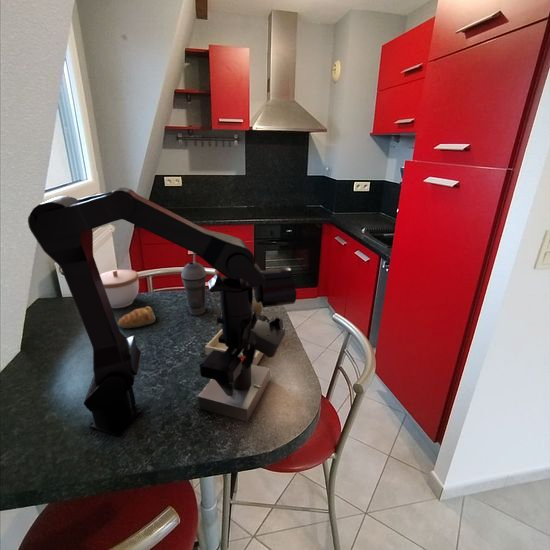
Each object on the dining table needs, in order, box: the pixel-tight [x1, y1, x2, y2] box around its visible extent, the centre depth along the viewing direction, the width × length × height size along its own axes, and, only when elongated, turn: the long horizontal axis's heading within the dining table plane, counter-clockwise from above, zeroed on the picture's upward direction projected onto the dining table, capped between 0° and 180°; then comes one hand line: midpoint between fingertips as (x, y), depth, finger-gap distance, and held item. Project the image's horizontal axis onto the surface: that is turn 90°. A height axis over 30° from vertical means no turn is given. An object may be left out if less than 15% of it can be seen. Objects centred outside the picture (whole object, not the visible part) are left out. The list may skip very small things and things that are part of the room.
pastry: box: [117, 305, 156, 329], centre depth 90 cm, size 9×7×4 cm
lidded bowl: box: [99, 269, 140, 309], centre depth 100 cm, size 13×13×11 cm
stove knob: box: [234, 356, 252, 390], centre depth 62 cm, size 4×4×5 cm
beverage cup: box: [180, 252, 208, 316], centre depth 93 cm, size 7×7×20 cm
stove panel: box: [197, 365, 271, 422], centre depth 64 cm, size 12×10×3 cm
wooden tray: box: [204, 328, 264, 366], centre depth 80 cm, size 13×13×2 cm
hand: (240, 379), depth 63 cm, fingers open, 9 cm apart
